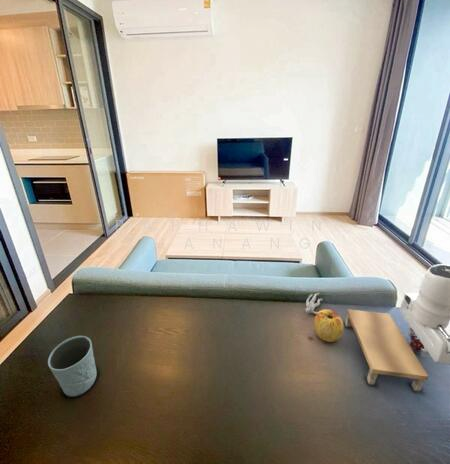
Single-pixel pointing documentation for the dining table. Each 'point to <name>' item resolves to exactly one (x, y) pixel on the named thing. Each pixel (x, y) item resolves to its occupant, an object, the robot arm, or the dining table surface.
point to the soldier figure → (312, 304)
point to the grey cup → (73, 365)
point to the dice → (416, 345)
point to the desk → (385, 347)
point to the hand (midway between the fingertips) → (417, 346)
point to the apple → (328, 325)
